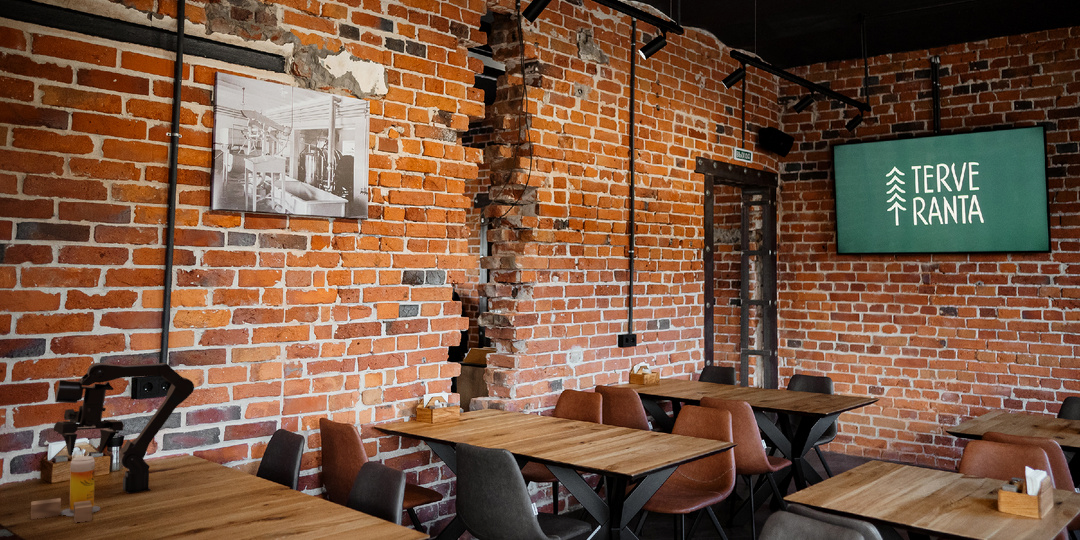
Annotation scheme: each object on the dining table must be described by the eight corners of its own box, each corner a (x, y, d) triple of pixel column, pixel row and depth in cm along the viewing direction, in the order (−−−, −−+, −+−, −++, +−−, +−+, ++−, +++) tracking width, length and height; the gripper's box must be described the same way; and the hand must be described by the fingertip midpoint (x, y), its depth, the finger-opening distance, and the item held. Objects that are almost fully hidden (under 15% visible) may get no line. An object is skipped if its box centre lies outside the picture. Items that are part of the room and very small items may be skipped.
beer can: (91, 511, 220) (93, 459, 221) (67, 513, 218) (68, 461, 218) (95, 505, 226) (96, 455, 226) (71, 507, 224) (72, 456, 224)
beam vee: (64, 503, 228) (65, 490, 229) (122, 508, 225) (123, 494, 225) (22, 518, 214) (22, 504, 214) (83, 523, 210) (84, 509, 210)
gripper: (108, 399, 249) (100, 447, 248) (48, 400, 234) (39, 452, 232) (128, 404, 244) (120, 453, 243) (68, 405, 228) (59, 458, 227)
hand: (85, 454), depth 236 cm, fingers open, 9 cm apart
